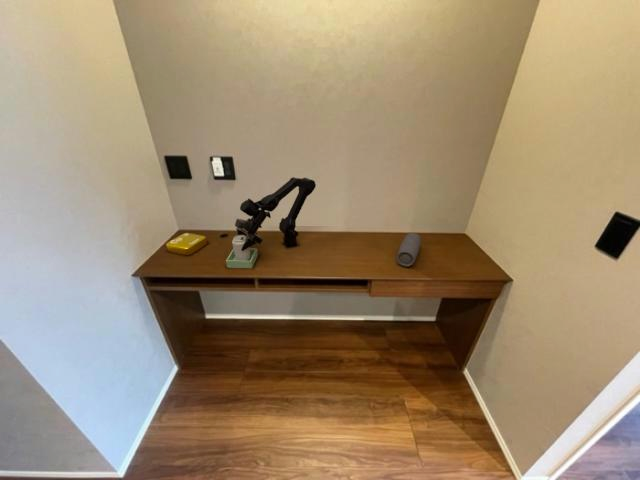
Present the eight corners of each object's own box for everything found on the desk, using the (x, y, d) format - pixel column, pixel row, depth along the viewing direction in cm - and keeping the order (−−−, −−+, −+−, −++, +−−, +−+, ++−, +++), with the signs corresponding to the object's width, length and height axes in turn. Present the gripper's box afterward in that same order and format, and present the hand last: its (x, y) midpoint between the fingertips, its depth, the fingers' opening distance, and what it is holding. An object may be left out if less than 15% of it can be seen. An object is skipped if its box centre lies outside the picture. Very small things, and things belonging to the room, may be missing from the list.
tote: (257, 255, 138) (257, 248, 136) (252, 268, 127) (251, 261, 125) (234, 254, 138) (233, 248, 136) (227, 267, 127) (225, 260, 125)
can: (251, 261, 130) (248, 240, 124) (235, 263, 128) (231, 242, 122) (250, 253, 136) (247, 233, 130) (235, 255, 134) (231, 235, 128)
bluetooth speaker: (402, 245, 149) (405, 230, 144) (419, 249, 145) (423, 233, 140) (393, 265, 130) (397, 248, 126) (413, 270, 127) (417, 253, 122)
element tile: (189, 256, 136) (186, 248, 133) (166, 251, 140) (163, 243, 138) (208, 243, 148) (206, 235, 146) (187, 238, 152) (185, 231, 150)
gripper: (236, 206, 129) (217, 233, 128) (253, 219, 116) (233, 248, 115) (252, 217, 137) (235, 242, 136) (270, 230, 124) (251, 257, 124)
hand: (238, 247), depth 128 cm, fingers closed on can, 7 cm apart
